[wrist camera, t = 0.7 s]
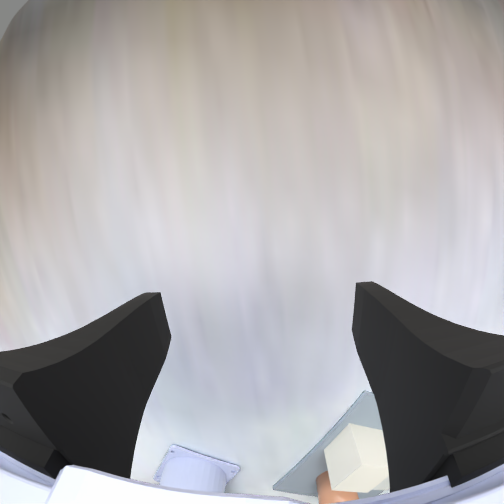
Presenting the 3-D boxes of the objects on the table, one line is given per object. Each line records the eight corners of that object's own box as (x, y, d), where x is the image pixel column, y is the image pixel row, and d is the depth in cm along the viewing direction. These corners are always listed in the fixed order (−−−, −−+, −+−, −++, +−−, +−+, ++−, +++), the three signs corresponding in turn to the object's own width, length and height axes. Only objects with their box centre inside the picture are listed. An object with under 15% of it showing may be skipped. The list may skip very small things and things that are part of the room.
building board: (373, 497, 30) (374, 500, 29) (272, 486, 28) (272, 490, 28) (461, 414, 25) (463, 418, 25) (364, 390, 24) (366, 395, 23)
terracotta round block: (337, 487, 28) (344, 520, 22) (308, 484, 27) (312, 519, 22) (359, 469, 27) (369, 504, 21) (329, 465, 26) (337, 503, 21)
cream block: (356, 455, 26) (367, 492, 21) (323, 449, 26) (331, 490, 20) (382, 430, 25) (397, 467, 20) (349, 423, 24) (362, 464, 19)
